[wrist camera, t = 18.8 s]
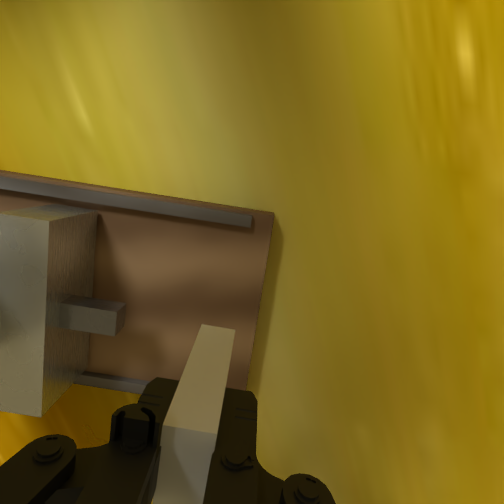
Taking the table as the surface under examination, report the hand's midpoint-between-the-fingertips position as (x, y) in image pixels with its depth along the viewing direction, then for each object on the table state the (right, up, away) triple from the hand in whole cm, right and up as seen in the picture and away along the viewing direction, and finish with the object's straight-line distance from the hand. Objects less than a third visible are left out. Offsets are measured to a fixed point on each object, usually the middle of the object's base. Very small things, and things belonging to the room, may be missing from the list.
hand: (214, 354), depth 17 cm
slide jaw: (-10, +2, +11) cm, 14 cm away
